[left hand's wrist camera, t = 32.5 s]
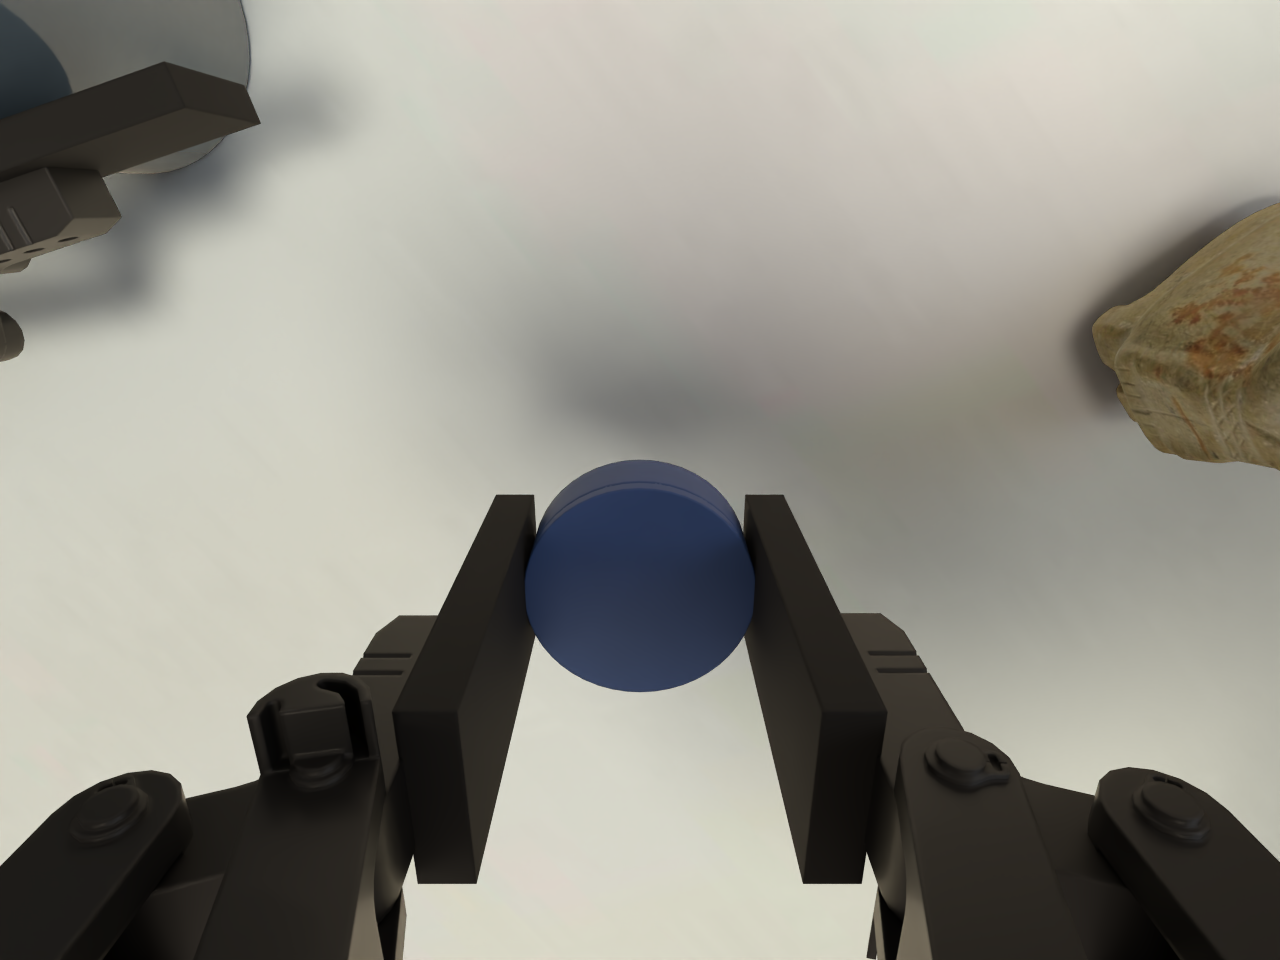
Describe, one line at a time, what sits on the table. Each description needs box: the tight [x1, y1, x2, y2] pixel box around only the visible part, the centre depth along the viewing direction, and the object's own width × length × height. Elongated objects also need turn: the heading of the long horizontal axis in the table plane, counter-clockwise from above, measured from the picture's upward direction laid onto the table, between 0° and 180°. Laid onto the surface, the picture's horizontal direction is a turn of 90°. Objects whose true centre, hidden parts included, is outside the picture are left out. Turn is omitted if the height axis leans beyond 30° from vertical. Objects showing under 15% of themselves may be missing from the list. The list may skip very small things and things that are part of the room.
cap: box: [524, 460, 755, 692], centre depth 14 cm, size 4×4×2 cm
